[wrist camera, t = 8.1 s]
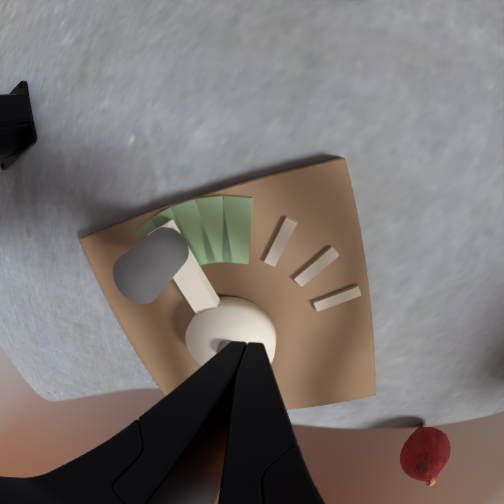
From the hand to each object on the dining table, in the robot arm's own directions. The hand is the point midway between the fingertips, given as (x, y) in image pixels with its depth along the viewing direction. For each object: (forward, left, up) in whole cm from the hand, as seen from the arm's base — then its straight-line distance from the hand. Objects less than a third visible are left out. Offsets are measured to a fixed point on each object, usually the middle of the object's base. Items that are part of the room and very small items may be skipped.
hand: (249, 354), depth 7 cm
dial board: (-5, -6, -12) cm, 14 cm away
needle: (-5, -4, -10) cm, 12 cm away
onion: (+10, -26, -12) cm, 31 cm away
